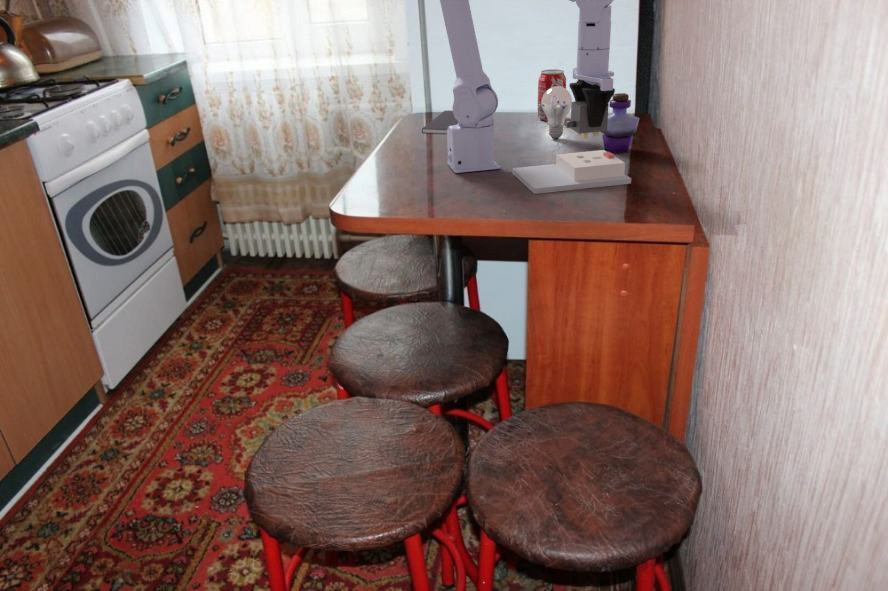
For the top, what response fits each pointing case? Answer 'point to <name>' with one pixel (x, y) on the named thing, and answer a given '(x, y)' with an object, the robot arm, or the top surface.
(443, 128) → the notebook
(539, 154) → the top surface
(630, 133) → the potion bottle
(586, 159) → the socket plate
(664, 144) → the top surface
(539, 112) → the soda can
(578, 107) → the plug
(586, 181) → the socket mat
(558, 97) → the light bulb
